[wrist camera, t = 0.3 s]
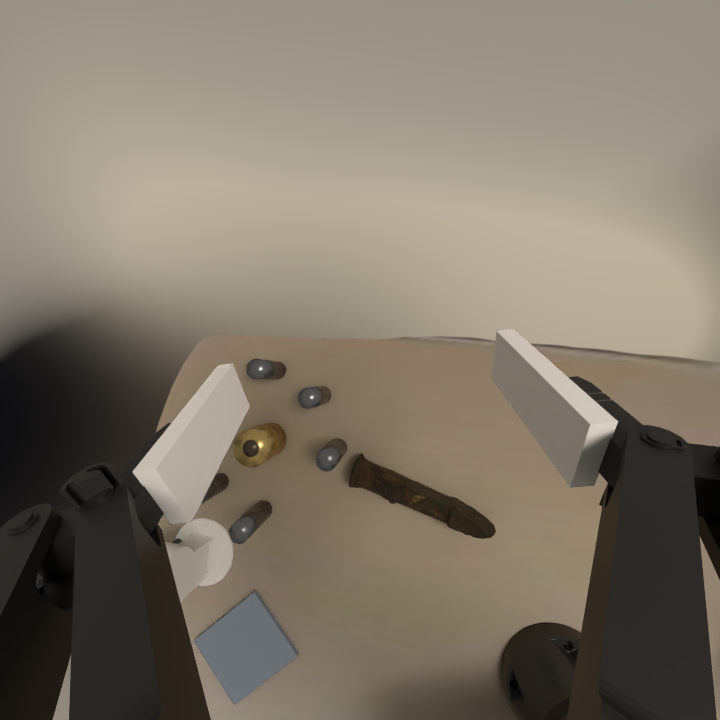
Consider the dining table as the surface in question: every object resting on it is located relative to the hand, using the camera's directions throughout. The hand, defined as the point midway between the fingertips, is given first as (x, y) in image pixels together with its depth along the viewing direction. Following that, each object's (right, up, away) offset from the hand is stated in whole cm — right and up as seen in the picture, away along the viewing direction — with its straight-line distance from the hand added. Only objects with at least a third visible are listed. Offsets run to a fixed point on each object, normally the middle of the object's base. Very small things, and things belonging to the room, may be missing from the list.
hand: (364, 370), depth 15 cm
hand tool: (+10, -20, +33) cm, 40 cm away
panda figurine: (-28, -33, +38) cm, 57 cm away
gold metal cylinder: (-16, -13, +37) cm, 42 cm away
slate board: (-19, -48, +35) cm, 62 cm away
